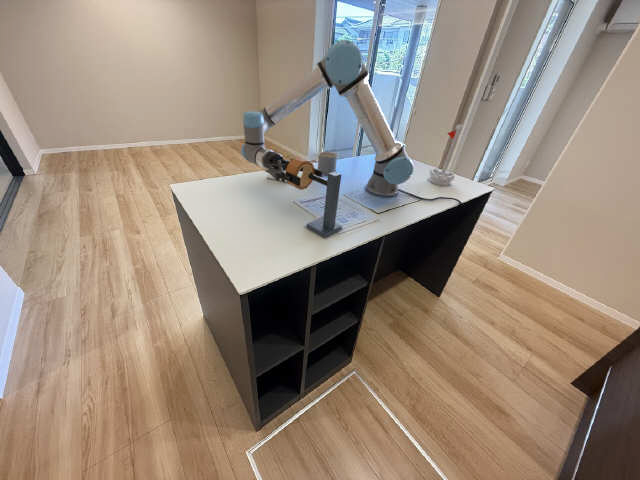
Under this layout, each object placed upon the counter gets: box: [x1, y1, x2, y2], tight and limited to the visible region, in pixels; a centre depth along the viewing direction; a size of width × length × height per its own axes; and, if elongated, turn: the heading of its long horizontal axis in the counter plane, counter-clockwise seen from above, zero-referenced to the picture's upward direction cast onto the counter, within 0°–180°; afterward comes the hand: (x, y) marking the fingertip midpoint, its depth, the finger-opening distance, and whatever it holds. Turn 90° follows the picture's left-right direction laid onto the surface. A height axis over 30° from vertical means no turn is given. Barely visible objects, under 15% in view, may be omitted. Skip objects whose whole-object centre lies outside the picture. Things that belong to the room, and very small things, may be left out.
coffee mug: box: [317, 151, 338, 177], centre depth 137 cm, size 13×10×10 cm
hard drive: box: [267, 173, 288, 183], centre depth 126 cm, size 2×8×12 cm
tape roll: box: [284, 157, 316, 191], centre depth 88 cm, size 10×5×10 cm, turn 137°
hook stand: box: [306, 171, 343, 239], centre depth 86 cm, size 9×13×21 cm
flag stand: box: [428, 124, 463, 187], centre depth 133 cm, size 13×13×30 cm
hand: (310, 178), depth 86 cm, fingers closed on tape roll, 10 cm apart
